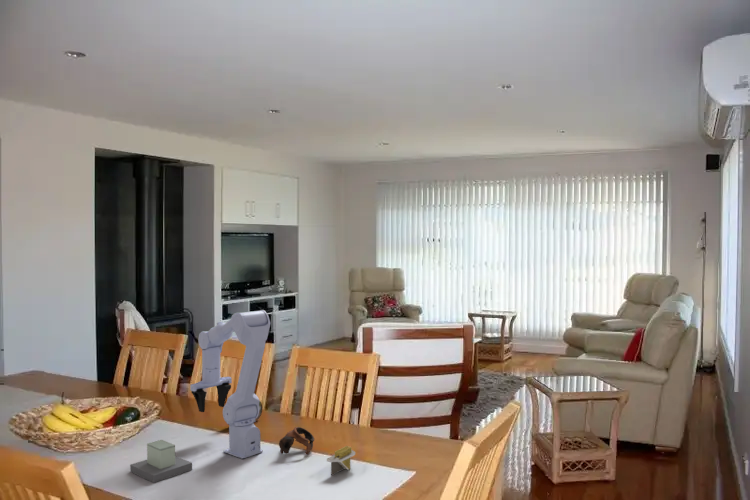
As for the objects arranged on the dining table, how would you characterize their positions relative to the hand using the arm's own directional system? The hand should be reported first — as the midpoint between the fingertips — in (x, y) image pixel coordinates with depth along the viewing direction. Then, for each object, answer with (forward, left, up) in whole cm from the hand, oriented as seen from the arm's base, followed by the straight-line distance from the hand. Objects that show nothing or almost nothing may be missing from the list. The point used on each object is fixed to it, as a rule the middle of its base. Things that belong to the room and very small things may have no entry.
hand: (211, 408), depth 203 cm
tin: (+4, -16, -10) cm, 19 cm away
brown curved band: (-31, -8, -10) cm, 33 cm away
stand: (-13, +26, -9) cm, 31 cm away
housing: (-13, +26, -7) cm, 30 cm away
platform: (-52, -7, -10) cm, 54 cm away
